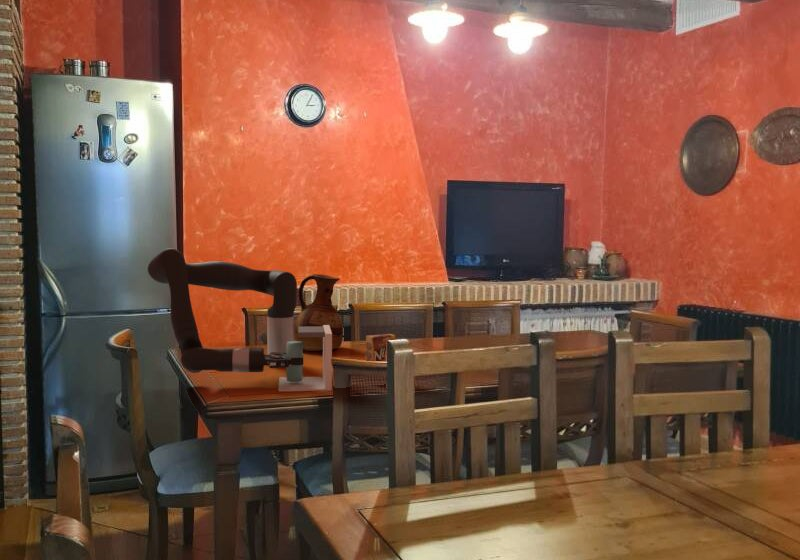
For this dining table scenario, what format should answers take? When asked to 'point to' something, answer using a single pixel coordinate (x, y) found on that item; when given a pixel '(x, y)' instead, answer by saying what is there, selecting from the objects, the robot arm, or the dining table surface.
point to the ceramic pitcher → (319, 314)
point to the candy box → (377, 346)
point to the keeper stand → (326, 380)
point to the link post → (294, 371)
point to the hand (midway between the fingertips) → (303, 359)
